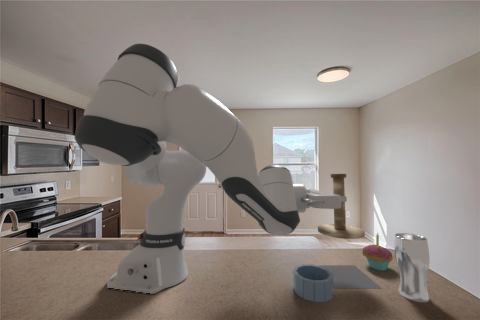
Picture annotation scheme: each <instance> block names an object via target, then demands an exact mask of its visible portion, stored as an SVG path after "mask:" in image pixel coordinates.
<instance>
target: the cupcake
mask: <svg viewBox="0 0 480 320" xmlns="http://www.w3.org/2000/svg"><path fill="white" fill-rule="evenodd" d="M375 237H376V243H375V244H368V245H366V246H364V247H363V248H362V250H361V251H362V252H361V253H362V256H364V257H365V258H366V260H367V262H368V265H369V267H370V268H372V269H374V270H376V271H387V270H388V267H389V265H390V263H391V262H392V261H393V260H394V257H393V253H392V252H391V251H390V250H389V249H387V248H385V247H383V246H381V245H379V243H380V242H379V241H380V240H379V239H380V235H379V233H378V232H377V233H376V235H375Z"/></svg>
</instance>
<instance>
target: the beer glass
mask: <svg viewBox="0 0 480 320" xmlns="http://www.w3.org/2000/svg"><path fill="white" fill-rule="evenodd" d="M394 257H395V261H396V266H397V269H398V270H397V271H398V274H399V286H398V293H399V294H400V295H401V296H402V297H404V298H406V299H408V300H410V301H413V302H417V303H429V302H430V296H429V293H428V286H427V282H428V280H427V279H428V274H429V271H430V270H429V269H430V250H429V243H428V238H427V237H425V236H422V235H418V234H414V233H407V232H399V233H397V232H396V233H395V234H394Z"/></svg>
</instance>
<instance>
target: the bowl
mask: <svg viewBox="0 0 480 320" xmlns="http://www.w3.org/2000/svg"><path fill="white" fill-rule="evenodd" d="M292 278H293V279H292V284H293V291H294V292H295V295H297V296H299V297H301V298H302V299H303V300H305V301H309V302H313V303H326V302H328V301H332V300H333V299H334V294H335V291H334V290H335V289H334V283H333V274H332V273H331V272H330V271H329V270H328V269H326V268H324V267H322V266H317V265H316V264H310V263H309V264H299V265H297V266H295V267H294V268H293V270H292Z"/></svg>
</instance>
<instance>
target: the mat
mask: <svg viewBox="0 0 480 320" xmlns="http://www.w3.org/2000/svg"><path fill="white" fill-rule="evenodd" d="M317 266H322V267H324V268H326V269H328V270H329V271H330V272H331V273H332V274H333V283H334V290H337V289H340V290H341V289H342V290H343V289H348V290H349V289H352V290H353V289H354V290H355V289H357V290H359V289H363V290H364V289H365V290H367V289H371V290H373V289H375V290H377V289H379V290H380V289H383V287H382V286H380V285H378V284H377V282H375V281H374V280H373V279H372V278H371V277H370V276H368V275H367V274H366V273H365V272H364V271H362V270H361V269H360V268H358V266H356V265H348V264H347V265H344V264H343V265H341V264H339V265H338V264H335V265H331V264H330V265H324V264H323V265H317Z"/></svg>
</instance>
